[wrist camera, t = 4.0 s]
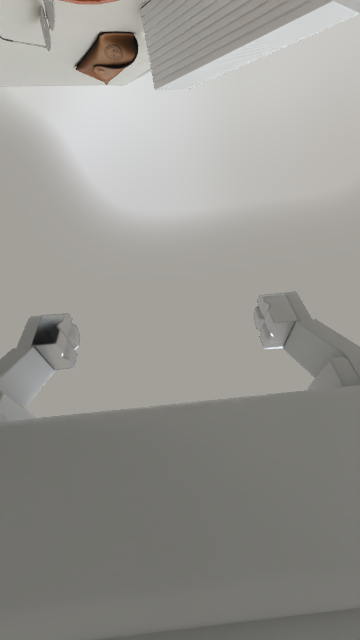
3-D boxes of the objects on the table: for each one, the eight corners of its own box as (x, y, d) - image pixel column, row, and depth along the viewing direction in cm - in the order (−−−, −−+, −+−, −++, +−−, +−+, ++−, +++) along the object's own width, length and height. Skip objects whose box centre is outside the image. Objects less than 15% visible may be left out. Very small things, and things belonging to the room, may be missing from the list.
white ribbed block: (181, 17, 50) (190, 89, 55) (140, 9, 44) (154, 90, 50) (380, -126, 29) (360, 13, 35) (350, -176, 23) (332, 1, 29)
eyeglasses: (40, 22, 41) (49, 56, 43) (-16, 17, 38) (-3, 54, 40) (45, -37, 30) (57, 12, 32) (-33, -49, 28) (-14, 5, 30)
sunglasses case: (98, 35, 48) (123, 75, 53) (120, 9, 49) (143, 50, 53) (73, 70, 61) (95, 99, 66) (91, 49, 62) (111, 79, 66)
